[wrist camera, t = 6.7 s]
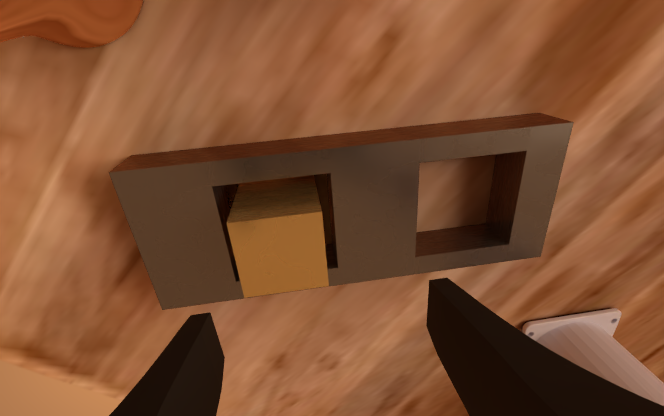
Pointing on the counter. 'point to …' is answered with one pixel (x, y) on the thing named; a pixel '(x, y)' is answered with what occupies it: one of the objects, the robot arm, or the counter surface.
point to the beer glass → (68, 20)
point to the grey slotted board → (343, 201)
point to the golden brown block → (278, 236)
